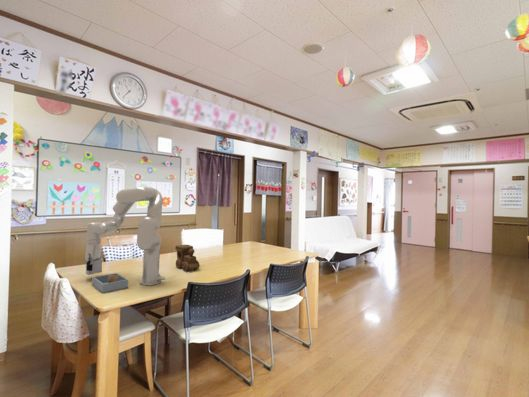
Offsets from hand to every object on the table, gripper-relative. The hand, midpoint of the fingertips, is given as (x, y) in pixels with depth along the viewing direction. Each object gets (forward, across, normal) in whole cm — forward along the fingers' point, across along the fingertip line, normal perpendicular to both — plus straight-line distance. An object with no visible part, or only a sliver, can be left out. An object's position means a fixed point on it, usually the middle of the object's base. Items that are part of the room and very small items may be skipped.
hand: (93, 268), depth 176 cm
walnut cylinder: (+6, +17, +20) cm, 27 cm away
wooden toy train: (+8, -30, +52) cm, 61 cm away
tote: (+7, +14, +17) cm, 23 cm away
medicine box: (+3, 0, 0) cm, 3 cm away
